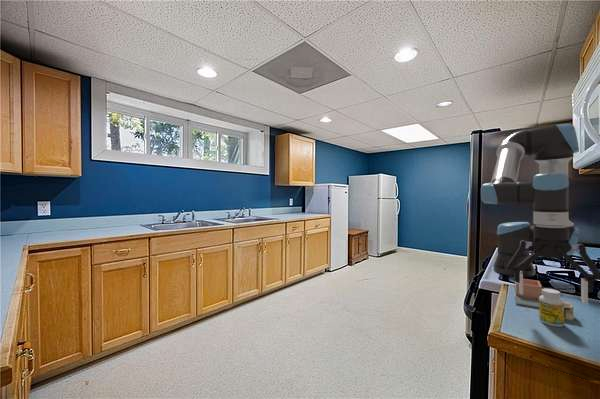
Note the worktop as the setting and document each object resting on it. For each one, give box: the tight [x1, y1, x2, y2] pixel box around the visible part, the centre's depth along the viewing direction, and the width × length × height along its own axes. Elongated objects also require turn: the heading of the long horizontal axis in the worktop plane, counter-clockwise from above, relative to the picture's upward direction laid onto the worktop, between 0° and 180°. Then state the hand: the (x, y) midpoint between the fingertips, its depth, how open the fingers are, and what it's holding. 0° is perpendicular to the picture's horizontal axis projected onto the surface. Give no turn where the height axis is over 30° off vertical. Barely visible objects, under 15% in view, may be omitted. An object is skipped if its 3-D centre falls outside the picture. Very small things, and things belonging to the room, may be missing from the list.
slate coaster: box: [514, 295, 539, 310], centre depth 91 cm, size 7×7×1 cm
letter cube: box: [564, 301, 574, 321], centre depth 81 cm, size 4×4×4 cm
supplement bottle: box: [538, 287, 565, 328], centre depth 78 cm, size 5×5×10 cm
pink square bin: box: [514, 278, 543, 300], centre depth 97 cm, size 7×7×5 cm
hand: (551, 297), depth 77 cm, fingers open, 13 cm apart
